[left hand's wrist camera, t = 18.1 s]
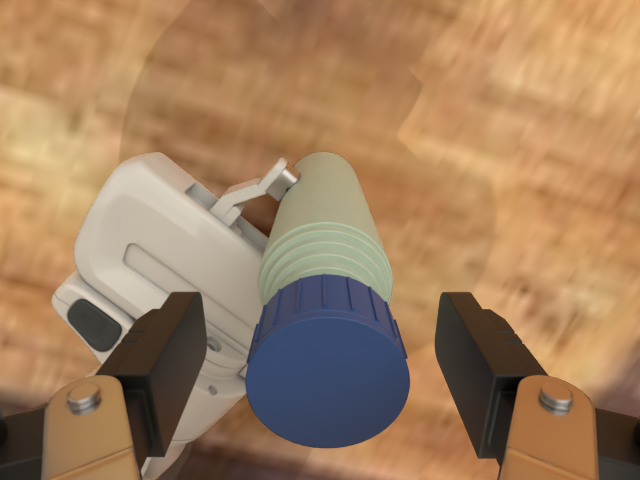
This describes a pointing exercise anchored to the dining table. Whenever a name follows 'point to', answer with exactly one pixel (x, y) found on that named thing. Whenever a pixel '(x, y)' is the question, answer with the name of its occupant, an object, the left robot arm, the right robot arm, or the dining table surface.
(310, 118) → the dining table surface
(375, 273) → the bottle
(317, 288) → the cap
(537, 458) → the left robot arm
